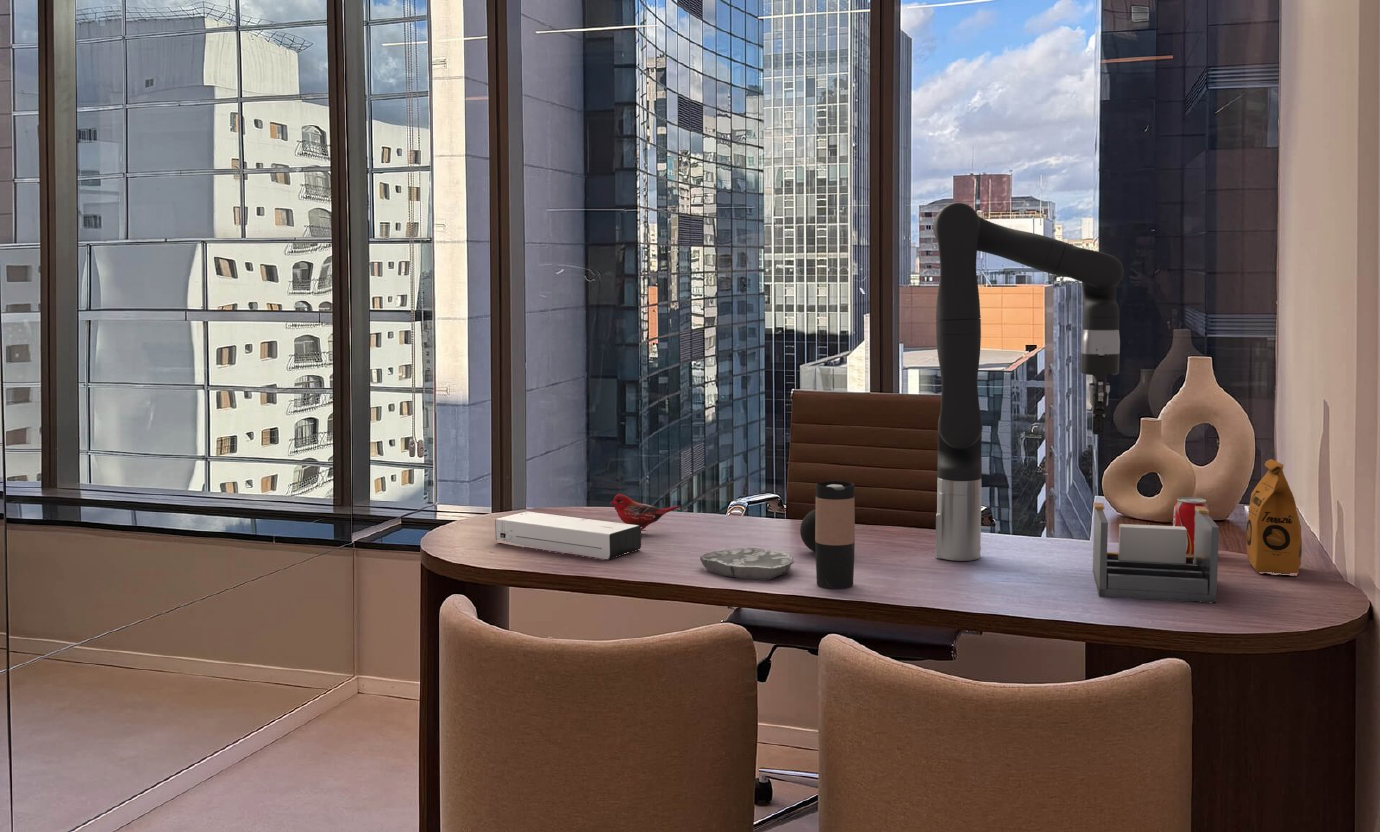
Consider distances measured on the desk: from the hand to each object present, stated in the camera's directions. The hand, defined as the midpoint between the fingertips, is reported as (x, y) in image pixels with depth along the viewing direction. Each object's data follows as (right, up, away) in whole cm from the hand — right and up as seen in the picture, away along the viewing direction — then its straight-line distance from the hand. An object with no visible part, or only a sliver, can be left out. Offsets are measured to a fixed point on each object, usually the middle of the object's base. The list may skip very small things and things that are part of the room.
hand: (1097, 434), depth 235 cm
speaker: (-56, -27, +12) cm, 64 cm away
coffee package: (+33, -28, -8) cm, 44 cm away
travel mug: (-57, -30, -15) cm, 66 cm away
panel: (+5, -27, -14) cm, 31 cm away
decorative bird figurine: (-96, -25, +36) cm, 106 cm away
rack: (+3, -29, -20) cm, 35 cm away
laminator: (-114, -27, +21) cm, 119 cm away
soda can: (+22, -26, +7) cm, 35 cm away
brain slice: (-73, -29, -2) cm, 79 cm away
